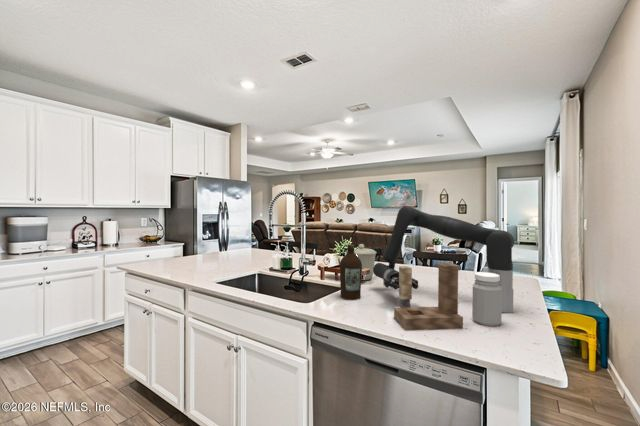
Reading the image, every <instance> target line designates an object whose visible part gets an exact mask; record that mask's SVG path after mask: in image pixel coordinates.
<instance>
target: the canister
mask: <svg viewBox="0 0 640 426" xmlns="http://www.w3.org/2000/svg"><path fill="white" fill-rule="evenodd" d="M357 248H358V249H357V250H356V251H354V253H355V254H356V253H358V254H357V255H358V258H359V259H360V260H361V263H362V269H364V268H370V269H371V272H370V274H368V275H366V276H365V280H364V281H368V280H372V278H373V276H374V273H373V268H374V266H375V264H376V263H375V261H376V254H377V251H375V250H374V249H372V248H365V244H363V243H360V244H358V247H357Z"/></svg>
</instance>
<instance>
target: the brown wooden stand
mask: <svg viewBox="0 0 640 426" xmlns="http://www.w3.org/2000/svg"><path fill="white" fill-rule="evenodd" d="M436 269H438V274H437V275H438V284H437V285H438V286H437V287H438V288H437V289H438V294H437V295H438V296H437V297H438V298H437V301H438V302H437V303H438V304H437V306H417V307H413V306H410V307H407V308H400V307H394V308H393V313H394V314H393V318H394V320H395V321H396V322H397V323H398V325H400V326H401V327H402V328H403V329H404V331H420V330H421V331H423V330H424V329H428V330H454V329H458V330H459V329H464V317H463V316H462V315H460V314H459V313H458V312H459V311H458V310H459V308H458V307H459V305H458V304H459V271H461V265H458V264H456V263H452V262H449V263H448V262H445V263H444V262H443V263H442V262H440V263H439V262H438V263H436Z"/></svg>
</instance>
